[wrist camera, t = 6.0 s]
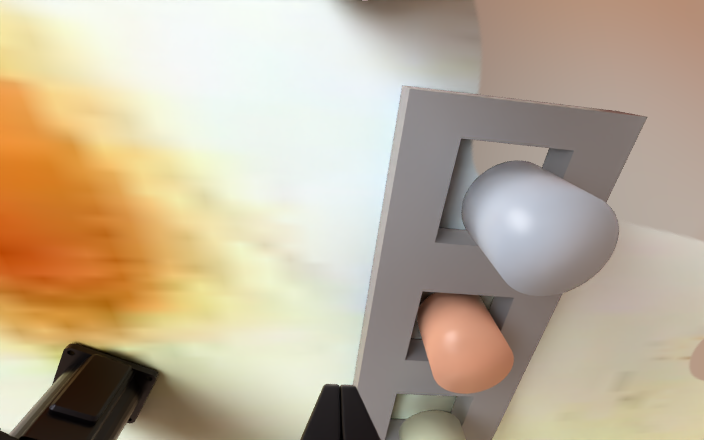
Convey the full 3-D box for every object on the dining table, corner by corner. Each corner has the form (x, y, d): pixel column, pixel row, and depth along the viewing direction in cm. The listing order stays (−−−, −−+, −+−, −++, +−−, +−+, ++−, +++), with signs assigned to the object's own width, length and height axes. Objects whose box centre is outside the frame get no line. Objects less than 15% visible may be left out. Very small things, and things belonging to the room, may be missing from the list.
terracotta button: (473, 341, 25) (499, 395, 21) (410, 337, 24) (424, 392, 20) (492, 289, 23) (525, 338, 19) (424, 284, 22) (442, 333, 18)
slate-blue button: (534, 248, 19) (587, 299, 15) (451, 241, 18) (483, 292, 14) (568, 165, 16) (641, 199, 13) (475, 155, 16) (520, 187, 12)
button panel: (473, 435, 31) (482, 459, 29) (345, 431, 30) (345, 455, 28) (616, 111, 18) (647, 116, 16) (402, 85, 17) (409, 88, 15)
